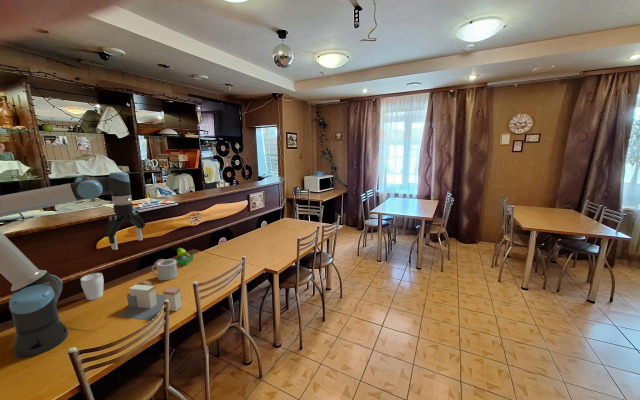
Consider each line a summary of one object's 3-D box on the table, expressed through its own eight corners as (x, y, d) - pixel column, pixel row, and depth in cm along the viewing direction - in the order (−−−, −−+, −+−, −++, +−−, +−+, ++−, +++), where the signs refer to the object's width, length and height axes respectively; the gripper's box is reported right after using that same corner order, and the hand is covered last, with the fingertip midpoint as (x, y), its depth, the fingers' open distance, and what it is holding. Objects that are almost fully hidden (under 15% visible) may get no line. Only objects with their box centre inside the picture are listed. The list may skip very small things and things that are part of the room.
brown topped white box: (176, 311, 123) (174, 292, 121) (165, 309, 124) (163, 291, 122) (182, 306, 127) (180, 288, 125) (171, 305, 128) (169, 287, 126)
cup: (92, 302, 131) (89, 281, 129) (79, 300, 133) (75, 279, 131) (110, 293, 140) (107, 273, 137) (97, 291, 141) (93, 271, 139)
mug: (179, 271, 165) (177, 257, 164) (175, 279, 155) (174, 264, 154) (155, 274, 161) (154, 260, 159) (150, 282, 151) (148, 267, 149)
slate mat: (154, 322, 116) (154, 320, 116) (117, 317, 119) (117, 316, 119) (183, 297, 136) (183, 296, 136) (151, 294, 139) (150, 293, 139)
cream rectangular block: (149, 310, 124) (146, 291, 122) (128, 307, 126) (125, 289, 124) (159, 302, 131) (156, 284, 129) (139, 300, 132) (137, 282, 130)
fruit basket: (186, 266, 173) (185, 251, 171) (174, 266, 174) (172, 250, 171) (195, 259, 185) (193, 245, 182) (183, 259, 185) (181, 244, 183)
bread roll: (153, 299, 141) (158, 285, 142) (131, 299, 133) (137, 284, 134) (148, 292, 147) (153, 279, 148) (127, 292, 140) (133, 278, 141)
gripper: (103, 209, 111) (109, 254, 114) (150, 199, 135) (154, 237, 139) (89, 208, 112) (96, 253, 116) (138, 199, 136) (143, 236, 140)
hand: (128, 244), depth 127 cm, fingers open, 13 cm apart
